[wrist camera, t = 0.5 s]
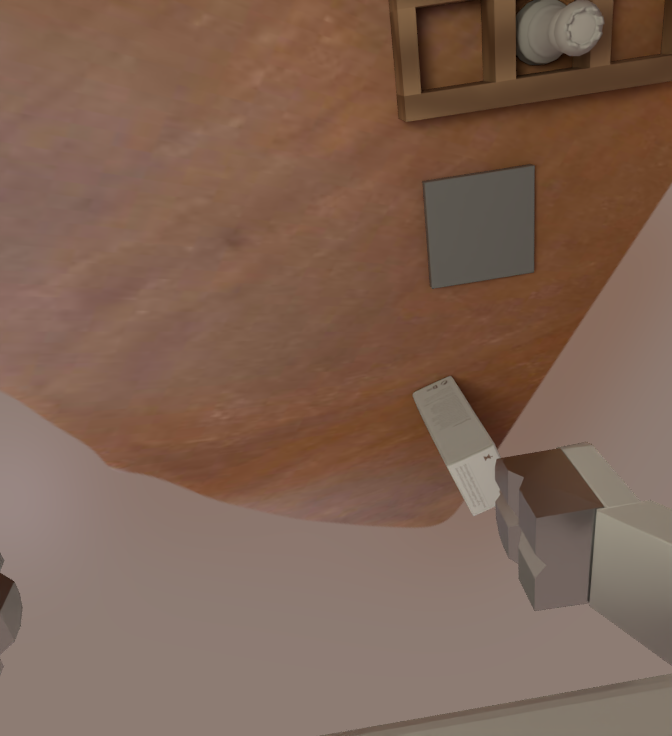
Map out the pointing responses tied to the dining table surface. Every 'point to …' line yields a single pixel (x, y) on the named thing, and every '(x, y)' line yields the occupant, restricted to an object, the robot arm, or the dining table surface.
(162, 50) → the dining table surface
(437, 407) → the skincare box
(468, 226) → the coaster
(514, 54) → the three-compartment wooden tray
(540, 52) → the rook chess piece
